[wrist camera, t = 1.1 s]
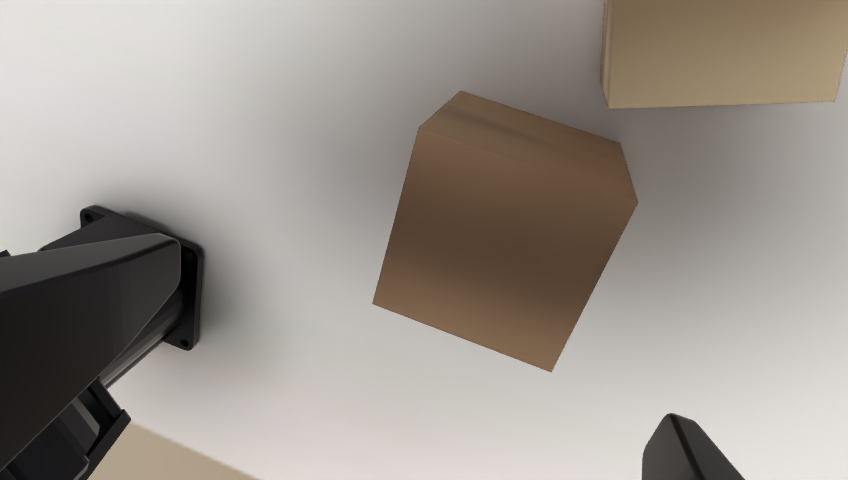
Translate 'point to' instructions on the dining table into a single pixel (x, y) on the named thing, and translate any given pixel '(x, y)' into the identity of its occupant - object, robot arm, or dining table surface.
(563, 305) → the walnut cube
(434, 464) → the dining table surface
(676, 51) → the oak cube
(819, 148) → the dining table surface
